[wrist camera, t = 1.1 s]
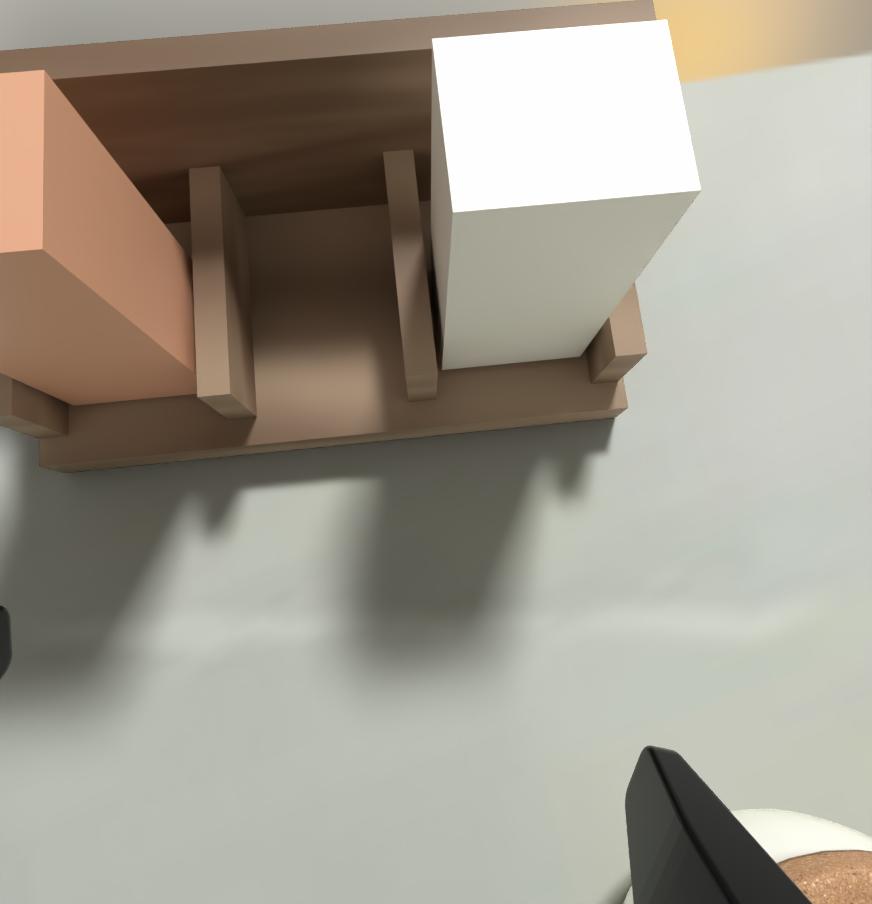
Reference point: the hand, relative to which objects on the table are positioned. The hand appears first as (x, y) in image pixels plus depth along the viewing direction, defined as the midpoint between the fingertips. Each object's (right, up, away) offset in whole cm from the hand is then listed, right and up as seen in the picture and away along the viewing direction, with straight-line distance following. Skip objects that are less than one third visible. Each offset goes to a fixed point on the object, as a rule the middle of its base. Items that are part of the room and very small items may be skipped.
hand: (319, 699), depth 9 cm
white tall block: (+4, +9, +14) cm, 17 cm away
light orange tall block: (-9, +7, +14) cm, 18 cm away
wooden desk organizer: (-2, +8, +16) cm, 18 cm away
